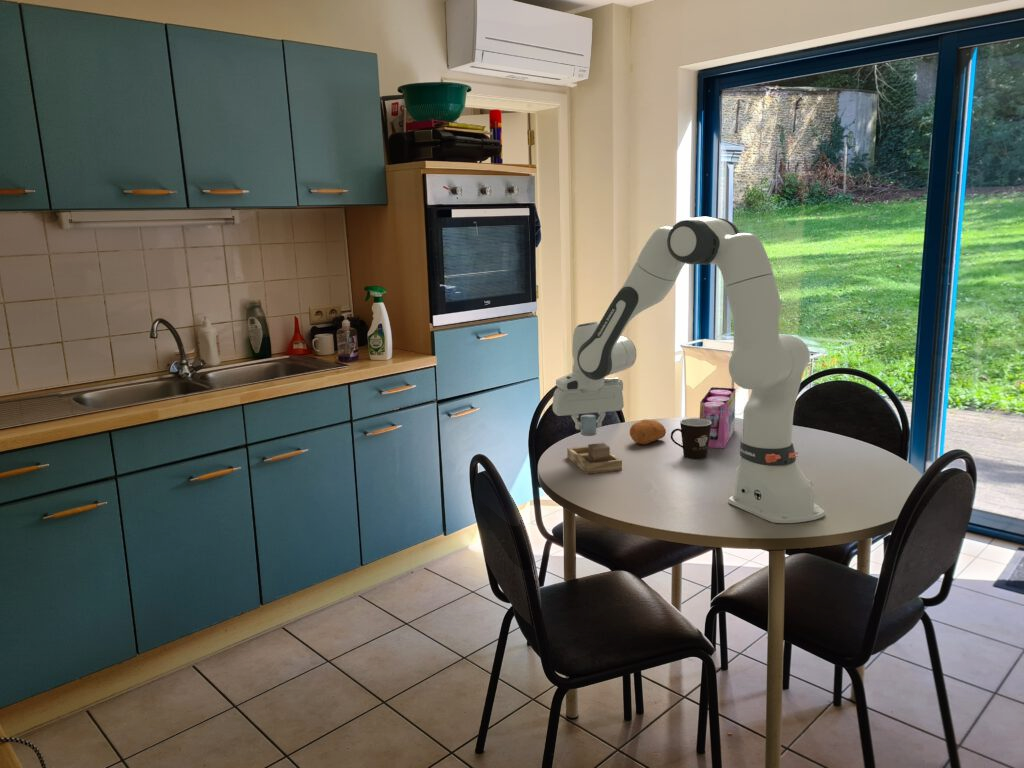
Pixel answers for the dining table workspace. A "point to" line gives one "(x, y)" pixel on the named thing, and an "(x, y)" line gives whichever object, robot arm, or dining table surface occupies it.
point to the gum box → (719, 415)
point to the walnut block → (598, 452)
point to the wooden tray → (581, 459)
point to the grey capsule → (588, 425)
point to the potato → (647, 431)
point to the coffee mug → (694, 437)
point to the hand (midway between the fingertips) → (588, 427)
